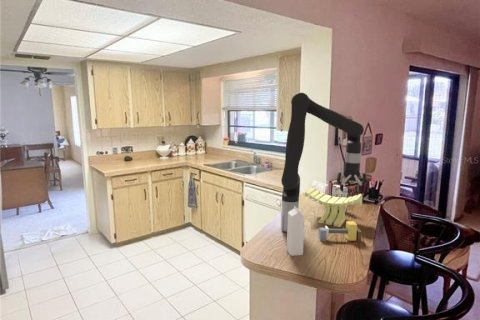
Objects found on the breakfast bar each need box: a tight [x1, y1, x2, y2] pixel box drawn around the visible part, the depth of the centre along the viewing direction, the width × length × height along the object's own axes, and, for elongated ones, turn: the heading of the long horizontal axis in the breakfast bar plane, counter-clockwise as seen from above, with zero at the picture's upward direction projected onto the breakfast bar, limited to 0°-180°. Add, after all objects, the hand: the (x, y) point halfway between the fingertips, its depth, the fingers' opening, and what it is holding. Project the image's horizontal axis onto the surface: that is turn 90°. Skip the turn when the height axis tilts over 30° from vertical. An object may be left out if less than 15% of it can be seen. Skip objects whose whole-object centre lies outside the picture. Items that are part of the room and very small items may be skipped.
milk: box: [286, 206, 305, 257], centre depth 139 cm, size 6×6×22 cm
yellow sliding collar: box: [345, 220, 358, 242], centre depth 155 cm, size 4×5×8 cm
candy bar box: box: [331, 184, 349, 213], centre depth 203 cm, size 11×5×16 cm, turn 17°
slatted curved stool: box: [304, 187, 363, 228], centre depth 182 cm, size 30×16×18 cm, turn 58°
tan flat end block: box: [356, 226, 363, 243], centre depth 155 cm, size 2×6×6 cm, turn 178°
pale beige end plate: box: [324, 225, 330, 237], centre depth 155 cm, size 1×4×4 cm, turn 178°
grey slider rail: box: [329, 228, 362, 234], centre depth 155 cm, size 20×2×2 cm, turn 88°
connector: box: [318, 227, 327, 242], centre depth 156 cm, size 3×4×6 cm
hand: (350, 191), depth 159 cm, fingers open, 8 cm apart
